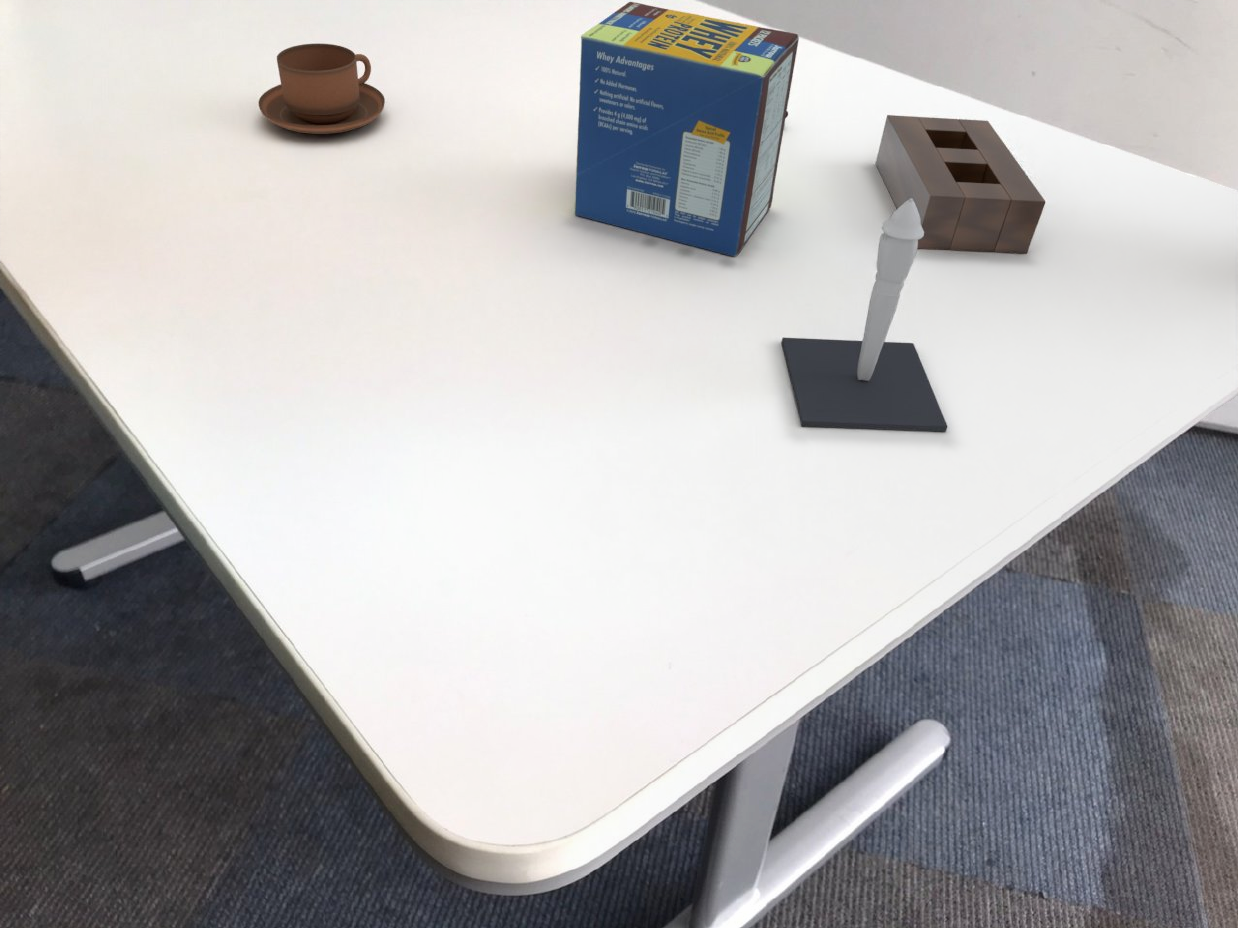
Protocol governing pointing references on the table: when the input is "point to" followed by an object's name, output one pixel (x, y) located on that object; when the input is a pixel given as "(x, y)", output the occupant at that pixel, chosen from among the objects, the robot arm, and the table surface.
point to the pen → (889, 281)
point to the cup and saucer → (321, 91)
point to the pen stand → (959, 184)
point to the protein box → (681, 124)
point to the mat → (860, 387)
